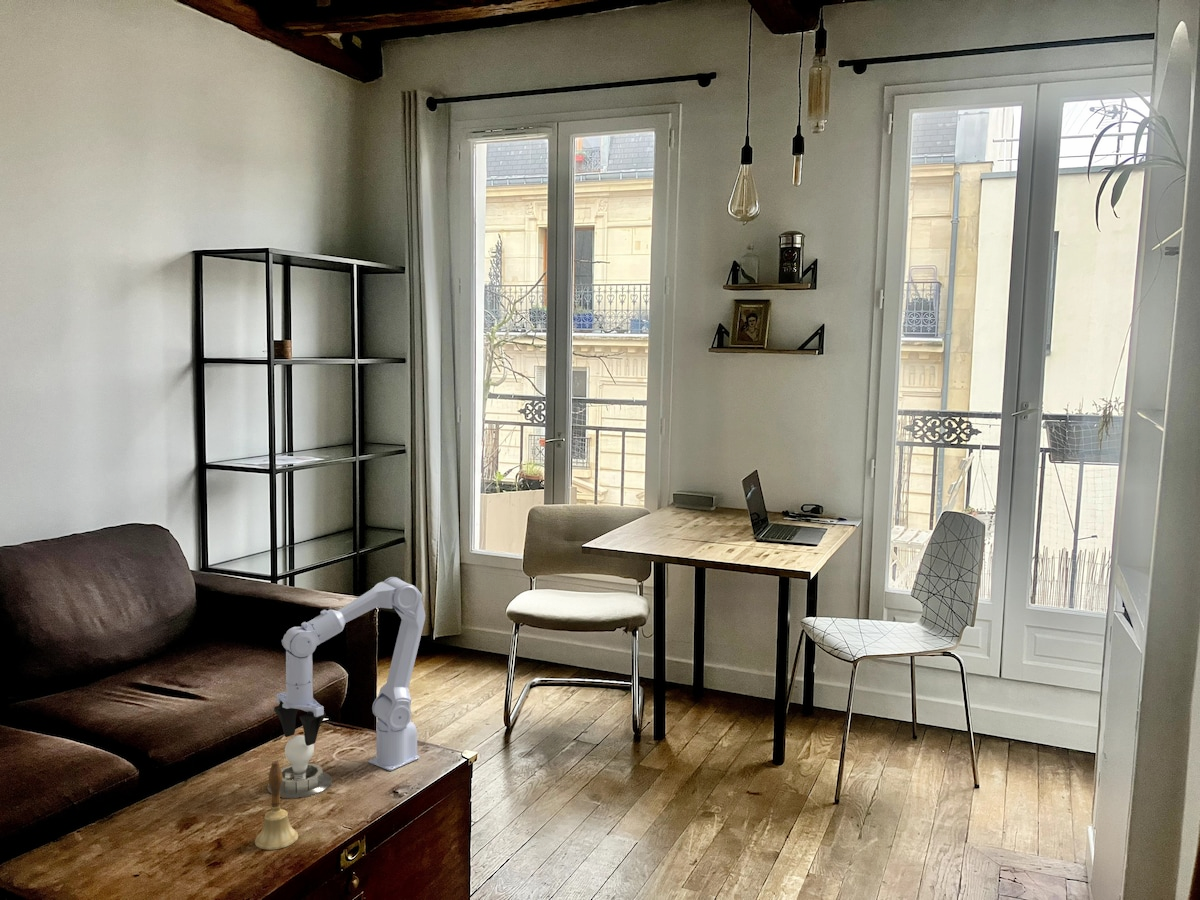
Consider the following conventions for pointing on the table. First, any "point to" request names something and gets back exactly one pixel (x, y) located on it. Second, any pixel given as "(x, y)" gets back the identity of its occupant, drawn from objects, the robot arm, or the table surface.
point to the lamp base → (322, 787)
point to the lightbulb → (299, 755)
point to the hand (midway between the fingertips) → (300, 739)
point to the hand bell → (276, 818)
